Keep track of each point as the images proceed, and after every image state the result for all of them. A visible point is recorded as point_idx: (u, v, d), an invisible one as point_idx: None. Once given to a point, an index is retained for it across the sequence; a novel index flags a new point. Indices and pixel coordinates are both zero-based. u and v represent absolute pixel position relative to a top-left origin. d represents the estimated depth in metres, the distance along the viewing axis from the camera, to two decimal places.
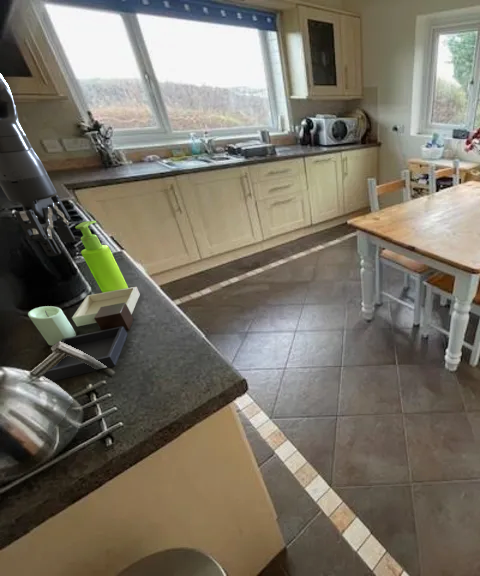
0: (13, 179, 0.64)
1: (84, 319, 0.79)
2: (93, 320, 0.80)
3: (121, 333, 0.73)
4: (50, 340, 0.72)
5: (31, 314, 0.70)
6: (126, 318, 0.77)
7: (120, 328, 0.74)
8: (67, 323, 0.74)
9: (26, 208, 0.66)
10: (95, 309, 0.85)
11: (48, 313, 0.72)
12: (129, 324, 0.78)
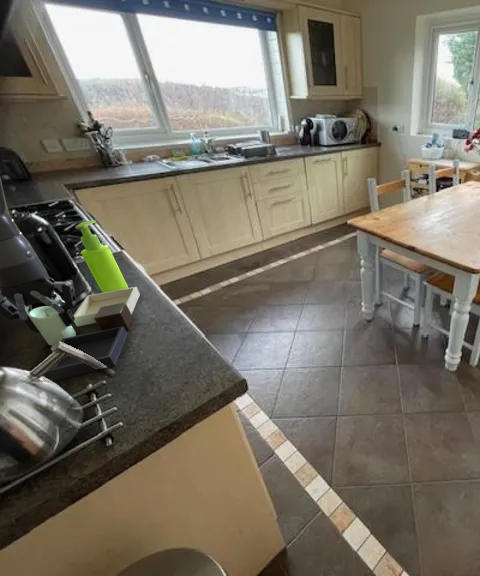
0: None
1: (84, 319, 0.79)
2: (93, 320, 0.80)
3: (121, 333, 0.73)
4: (50, 340, 0.72)
5: (31, 314, 0.70)
6: (126, 318, 0.77)
7: (120, 328, 0.74)
8: None
9: None
10: (95, 309, 0.85)
11: (48, 313, 0.72)
12: (129, 324, 0.78)
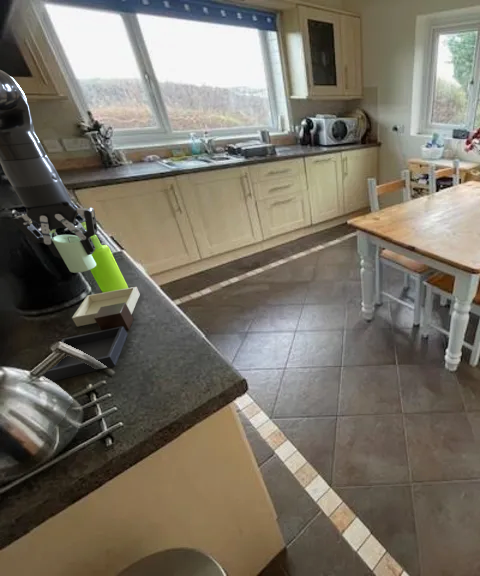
0: None
1: (84, 319, 0.79)
2: (93, 320, 0.80)
3: (121, 333, 0.73)
4: (72, 267, 0.75)
5: (55, 239, 0.73)
6: (126, 318, 0.77)
7: (120, 328, 0.74)
8: None
9: None
10: (95, 309, 0.85)
11: (70, 241, 0.75)
12: (129, 324, 0.78)
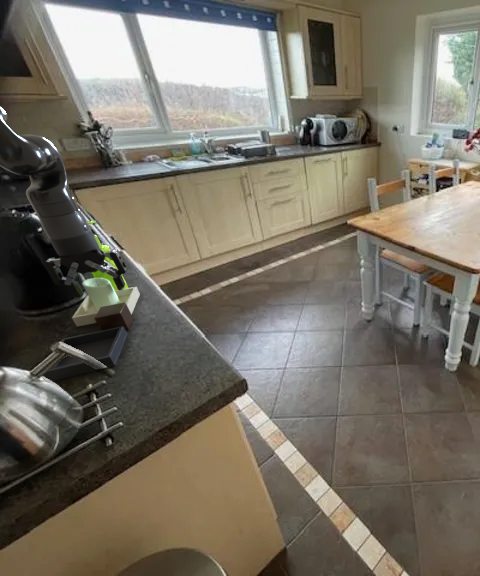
0: None
1: (84, 319, 0.79)
2: (93, 320, 0.80)
3: (121, 333, 0.73)
4: None
5: (85, 283, 0.80)
6: (126, 318, 0.77)
7: (120, 328, 0.74)
8: (114, 293, 0.84)
9: None
10: (95, 309, 0.85)
11: (98, 284, 0.82)
12: (129, 324, 0.78)
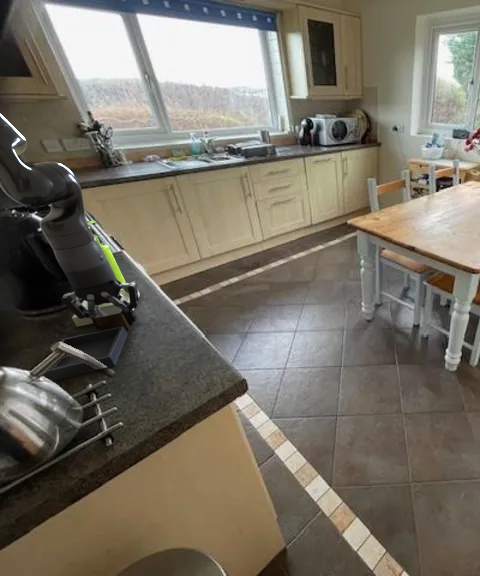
0: None
1: (84, 319, 0.79)
2: None
3: (121, 333, 0.73)
4: None
5: None
6: None
7: (120, 328, 0.74)
8: None
9: None
10: None
11: None
12: None
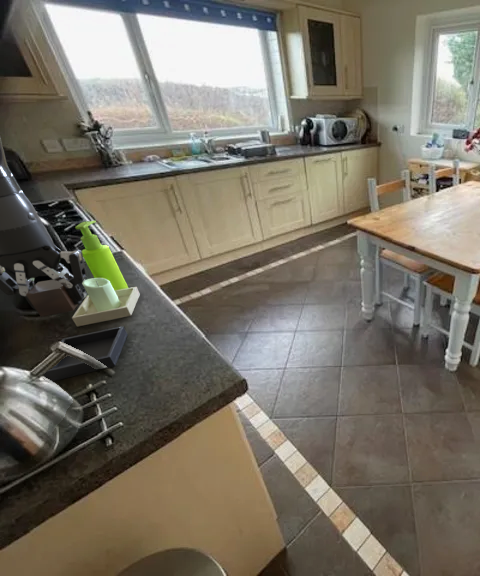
0: None
1: (84, 319, 0.79)
2: (93, 320, 0.80)
3: (121, 333, 0.73)
4: (100, 307, 0.82)
5: (85, 284, 0.80)
6: (69, 296, 0.63)
7: (120, 328, 0.74)
8: (114, 293, 0.84)
9: None
10: (95, 309, 0.85)
11: (98, 284, 0.82)
12: None
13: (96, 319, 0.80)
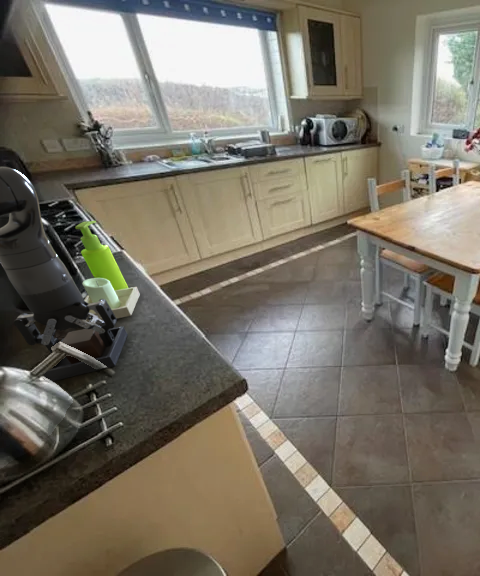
0: None
1: None
2: None
3: (121, 333, 0.73)
4: None
5: (85, 284, 0.80)
6: (97, 345, 0.68)
7: (120, 328, 0.74)
8: (114, 293, 0.84)
9: None
10: None
11: (98, 284, 0.82)
12: (101, 351, 0.69)
13: None
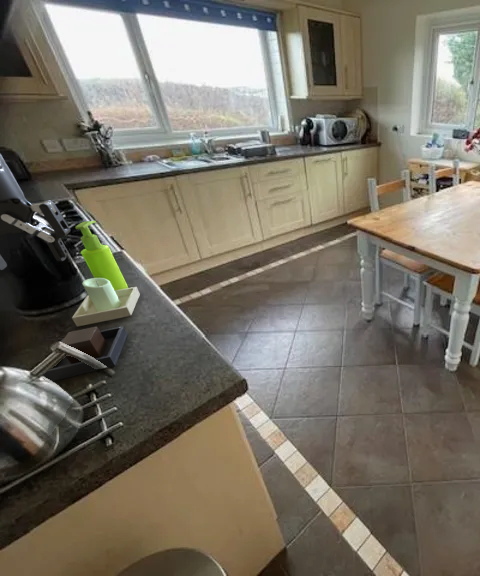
0: None
1: (84, 319, 0.79)
2: (93, 320, 0.80)
3: (121, 333, 0.73)
4: (100, 307, 0.82)
5: (85, 284, 0.80)
6: (97, 345, 0.68)
7: (120, 328, 0.74)
8: (114, 293, 0.84)
9: None
10: (95, 309, 0.85)
11: (98, 284, 0.82)
12: (101, 351, 0.69)
13: (96, 319, 0.80)
